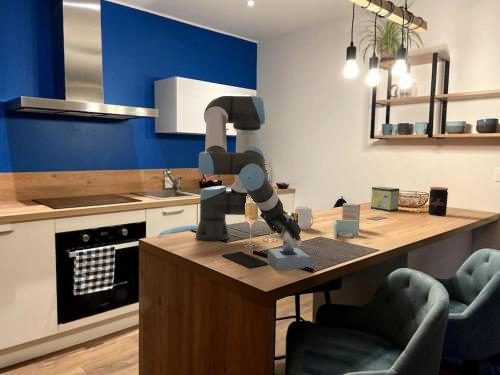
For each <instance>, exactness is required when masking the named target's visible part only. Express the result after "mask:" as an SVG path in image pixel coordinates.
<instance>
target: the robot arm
mask: <svg viewBox="0 0 500 375" xmlns="http://www.w3.org/2000/svg"><path fill="white" fill-rule="evenodd" d="M265 117H266V116H265V105H264V100H263V98H262V97H261V96H259V95H253V94H221V95H219V96H217V97H215V98H213V99H211V100H210V102H209V103H207V106H206V107H205V109H204V112H203V120H204V123H205V143H204V145H205V146H204V147H205V148H204V151H200V152H199V154H198V172H199V174H201V175H209V176H221V175H222V176H234V182H233V184H231V185H230V189H228V188H227V186H225V185H216V186H209V187H204V188H203V189H201V190H200V196H199V202H200V204H199V222H198V226H197V228H196V232H195V238H196V239H198V240H201V241H205V242H206V241H207V242H217V241H219V242H220V241H224V239H225V240H227V239H229V238H230V231H229V228H228V225H227V222H226V217H227V215H228V216H230V215H231V216H246V215H245V203H246V196H247V194H249V195H250V196H251V198H252V199H253V201H254V202H255V203H256V205H257V206H258V209H259V211H260V212H261V213H260V214H259V216H260V217H261V218H262V219H263V220H264V222H265V223H266V224H267V225H268V227H269V228H270V230H271V231H272V232H274V233H275V232H276V233H277V234H279V236H280V237H281V239H283V229H284V227H285V228H286V229H287V231H288V232H289V233H290V234H291V238H292V239H293V241H294V245H295V246H296V248H300V246H301V245H302V243H303V240H302V239H301V236H300V234H301V232H302V229H300V227H299V225H298V223H297V222H296V220H295V214H294V213H291V215H289V214H288V213H287V212H286V211H285V209H284V204H283V203H282V201H281V199H280V198H279V196H278V194H277V192H276V191H275V190H274V188H273V187H272V184H271V183H270V181H269V179H268V173H267V171H266V168H267V167H266V160H265V157H264V153H263V151H262V150H261V149H260V148H258V147H257V134H258V132H259V131H260V130H261V126H263V125H265V123H266V122H265V121H266V118H265ZM227 124H233V125H232V127H233V130H235V132H236V137H235V138H236V140H235V152H228V151H227V149H228V148H227V146H228V145H227Z"/></svg>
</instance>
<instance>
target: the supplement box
mask: <svg viewBox="0 0 500 375" xmlns="http://www.w3.org/2000/svg"><path fill="white" fill-rule="evenodd" d="M341 214H342V215H341V217H342V218H341V220H356V221H359V222H360V216H361V204H360V203H352V202H349V203H348V202H344V203H342V212H341ZM359 229H360V226H359V227H358V230H359Z"/></svg>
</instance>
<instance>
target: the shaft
mask: <svg viewBox="0 0 500 375" xmlns="http://www.w3.org/2000/svg"><path fill="white" fill-rule="evenodd" d="M282 230H283V238H282V248H283V255H294V248H295V242H294V241H293V239H292V238H291V234H290V233H289V232H288V231H287V229H286V228H285V227H284V226H283V228H282Z"/></svg>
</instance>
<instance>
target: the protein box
mask: <svg viewBox="0 0 500 375" xmlns="http://www.w3.org/2000/svg"><path fill="white" fill-rule="evenodd" d="M399 202H400V188H398V187H397V188H395V187H386V186H372V187H371V197H370V209H371V210H375V209H376V210H377V211H381V210H382V211H383V212H387V213H392V212H398V211H399V204H400V203H399ZM376 210H375V211H376ZM397 210H398V211H397Z"/></svg>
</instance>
